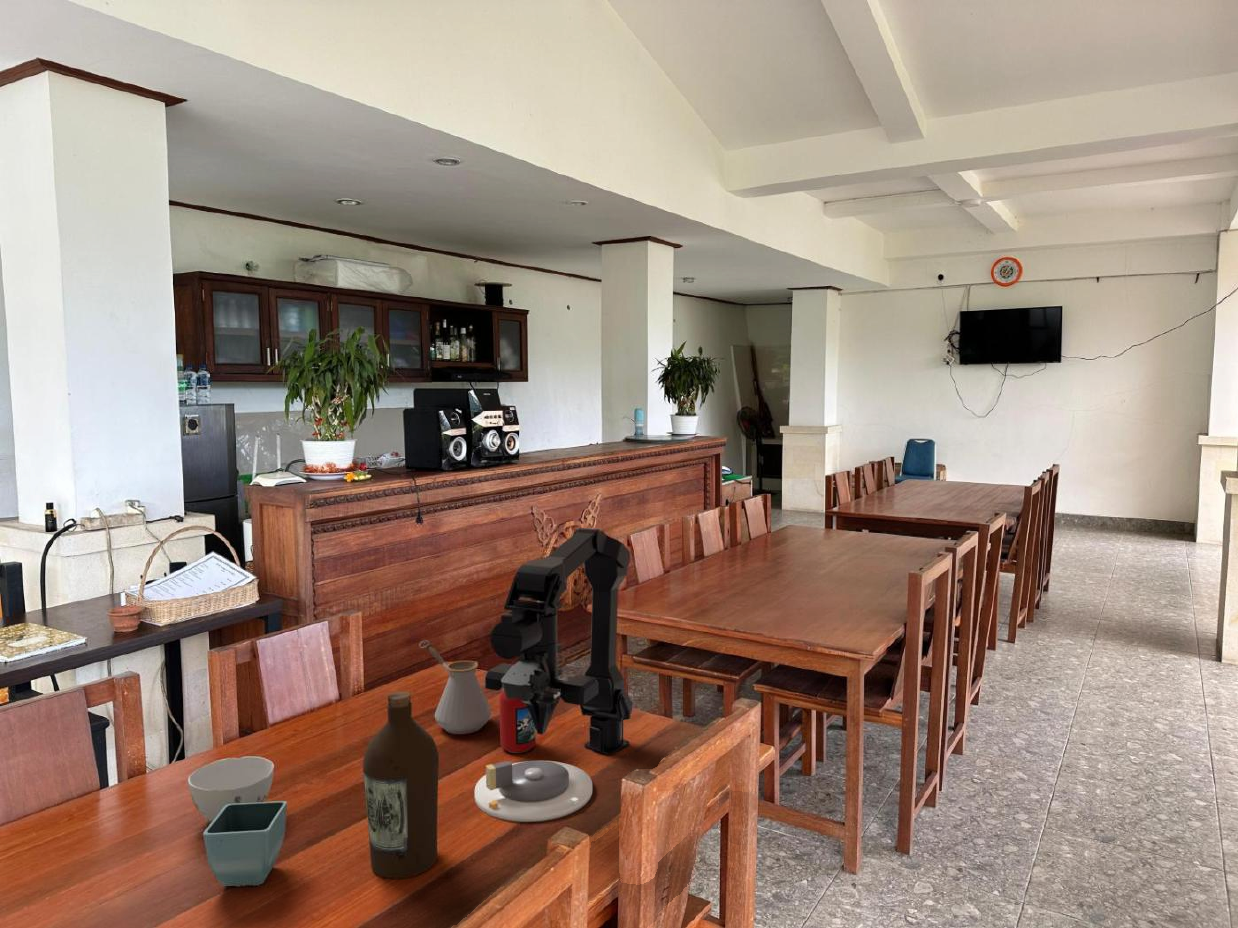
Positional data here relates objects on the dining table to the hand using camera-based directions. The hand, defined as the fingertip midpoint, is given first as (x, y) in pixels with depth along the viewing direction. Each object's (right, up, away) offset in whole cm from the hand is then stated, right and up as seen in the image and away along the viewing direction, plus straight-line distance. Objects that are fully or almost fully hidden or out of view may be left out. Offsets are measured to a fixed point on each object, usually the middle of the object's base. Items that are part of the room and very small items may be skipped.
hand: (541, 733), depth 139 cm
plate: (-2, -12, +5) cm, 13 cm away
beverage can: (-7, -10, +23) cm, 26 cm away
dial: (-3, -10, +4) cm, 12 cm away
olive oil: (-19, -14, -16) cm, 28 cm away
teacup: (-50, -13, -2) cm, 52 cm away
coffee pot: (-22, -9, +37) cm, 44 cm away
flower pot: (-40, -14, -19) cm, 46 cm away
